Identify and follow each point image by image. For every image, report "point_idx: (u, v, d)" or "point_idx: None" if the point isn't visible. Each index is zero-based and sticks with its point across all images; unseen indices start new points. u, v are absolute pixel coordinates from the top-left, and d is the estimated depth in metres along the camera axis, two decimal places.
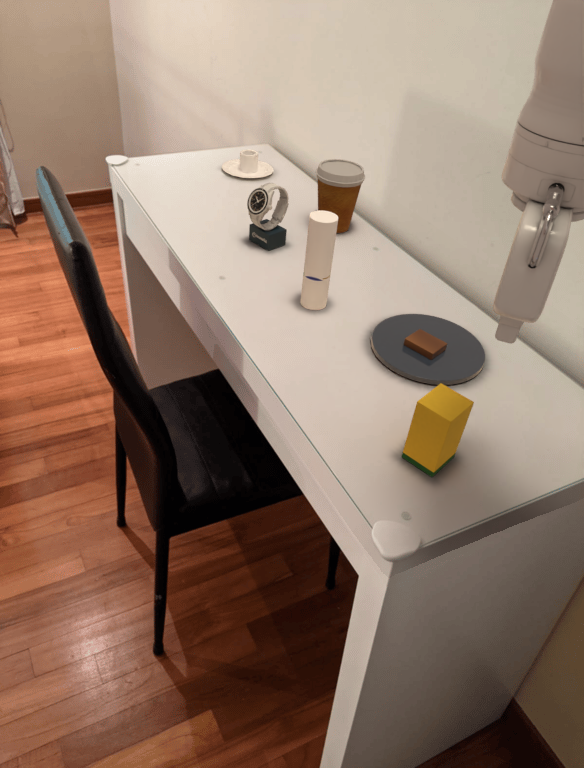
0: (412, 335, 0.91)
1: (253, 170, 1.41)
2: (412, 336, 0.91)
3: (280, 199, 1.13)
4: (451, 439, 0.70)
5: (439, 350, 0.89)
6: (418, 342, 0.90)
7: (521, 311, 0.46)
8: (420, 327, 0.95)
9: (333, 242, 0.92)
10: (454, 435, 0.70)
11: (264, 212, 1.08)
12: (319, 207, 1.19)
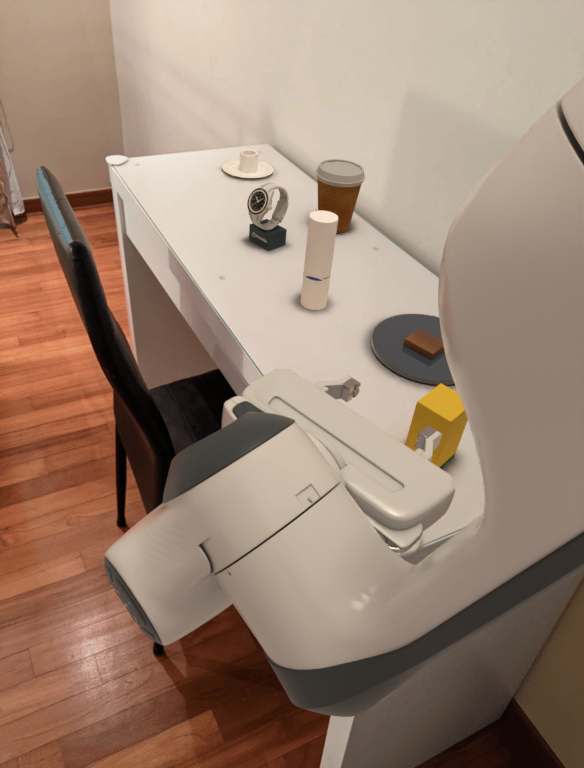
0: (412, 335, 0.91)
1: (253, 170, 1.41)
2: (412, 336, 0.91)
3: (280, 199, 1.13)
4: (451, 439, 0.70)
5: (439, 350, 0.89)
6: (418, 342, 0.90)
7: (450, 500, 0.49)
8: (420, 327, 0.95)
9: (333, 242, 0.92)
10: (454, 435, 0.70)
11: (264, 212, 1.08)
12: (319, 207, 1.19)
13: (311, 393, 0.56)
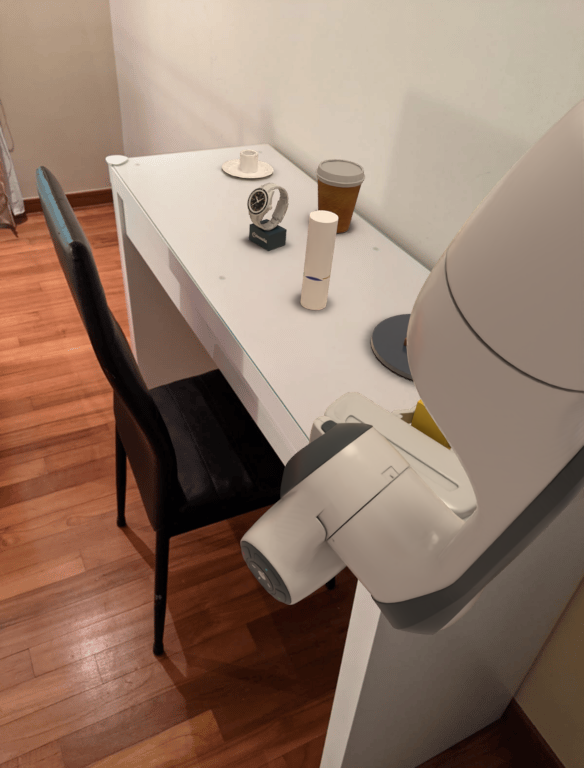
0: None
1: (253, 170, 1.41)
2: None
3: (280, 199, 1.13)
4: None
5: None
6: None
7: None
8: None
9: (333, 242, 0.92)
10: None
11: (264, 212, 1.08)
12: (319, 207, 1.19)
13: (378, 412, 0.70)
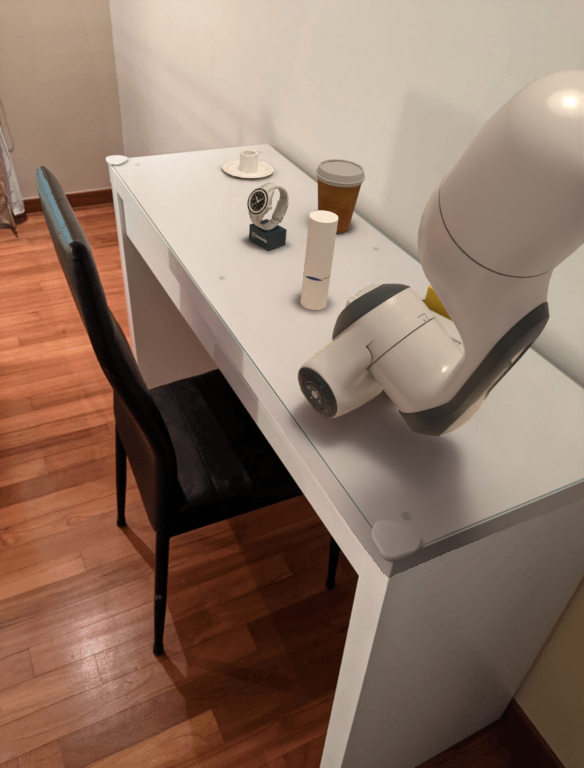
0: None
1: (253, 170, 1.41)
2: None
3: (280, 199, 1.13)
4: None
5: None
6: None
7: None
8: None
9: (333, 242, 0.92)
10: None
11: (264, 212, 1.08)
12: (319, 207, 1.19)
13: None
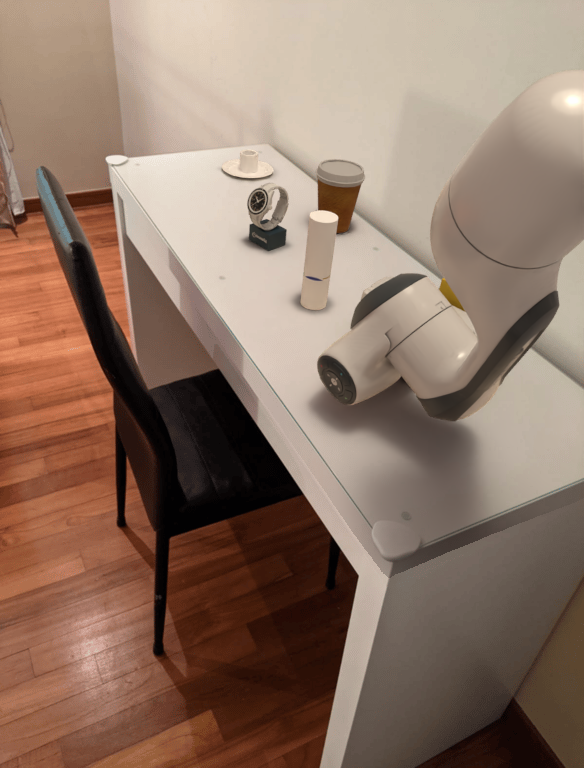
0: None
1: (253, 170, 1.41)
2: None
3: (280, 199, 1.13)
4: None
5: None
6: None
7: None
8: None
9: (333, 242, 0.92)
10: None
11: (264, 212, 1.08)
12: (319, 207, 1.19)
13: None
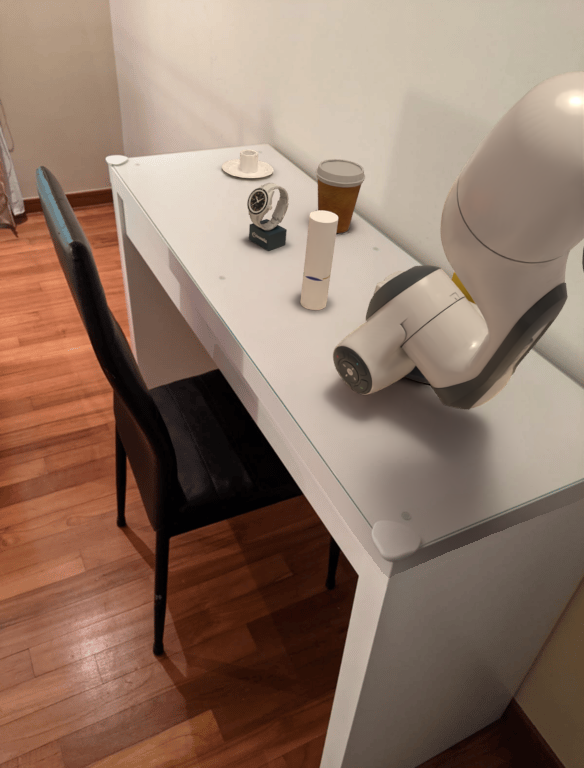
0: None
1: (253, 170, 1.41)
2: None
3: (280, 199, 1.13)
4: None
5: None
6: None
7: None
8: None
9: (333, 242, 0.92)
10: None
11: (264, 212, 1.08)
12: (319, 207, 1.19)
13: None
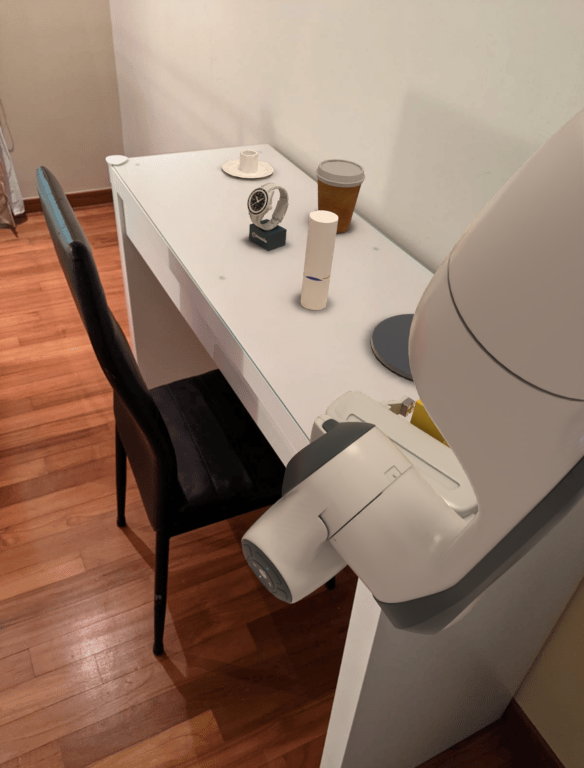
0: None
1: (253, 170, 1.41)
2: None
3: (280, 199, 1.13)
4: None
5: None
6: None
7: None
8: None
9: (333, 242, 0.92)
10: None
11: (264, 212, 1.08)
12: (319, 207, 1.19)
13: (379, 411, 0.70)
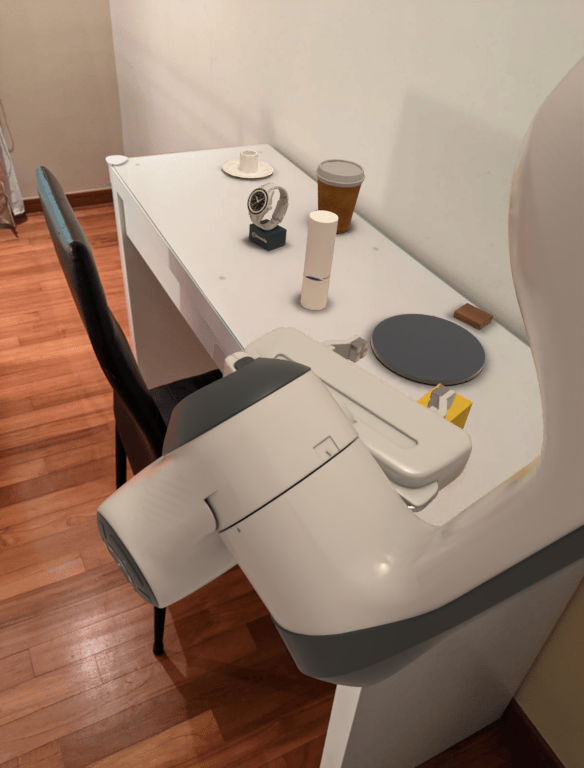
0: (461, 308, 1.00)
1: (253, 170, 1.41)
2: (461, 309, 1.00)
3: (280, 199, 1.13)
4: None
5: (486, 321, 0.98)
6: (467, 314, 0.99)
7: (467, 458, 0.46)
8: (420, 327, 0.95)
9: (333, 242, 0.92)
10: None
11: (264, 212, 1.08)
12: (319, 207, 1.19)
13: (317, 351, 0.53)
